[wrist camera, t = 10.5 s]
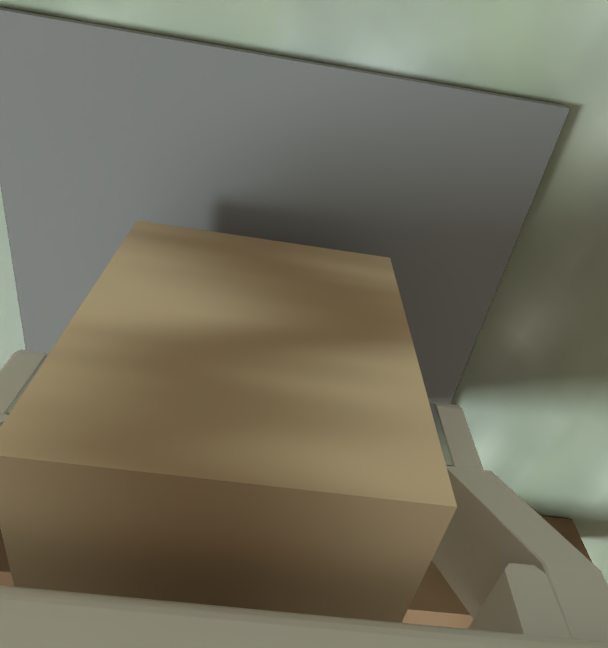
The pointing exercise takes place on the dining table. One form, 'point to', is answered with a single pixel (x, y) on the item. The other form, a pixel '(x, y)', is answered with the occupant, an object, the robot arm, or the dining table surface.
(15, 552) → the block
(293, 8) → the dining table surface
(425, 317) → the mat
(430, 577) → the rail
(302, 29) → the dining table surface
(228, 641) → the robot arm
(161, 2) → the dining table surface
